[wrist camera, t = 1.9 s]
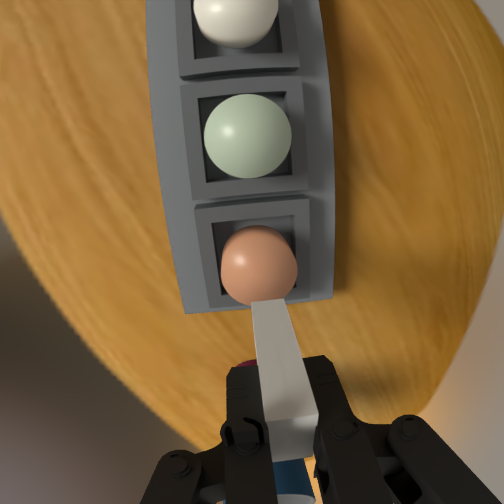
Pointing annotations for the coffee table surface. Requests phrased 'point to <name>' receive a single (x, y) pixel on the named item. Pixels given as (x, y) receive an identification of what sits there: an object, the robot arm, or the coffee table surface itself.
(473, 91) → the coffee table surface
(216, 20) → the button cream
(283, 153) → the button sage
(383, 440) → the robot arm
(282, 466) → the cup
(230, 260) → the button rust
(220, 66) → the panel
